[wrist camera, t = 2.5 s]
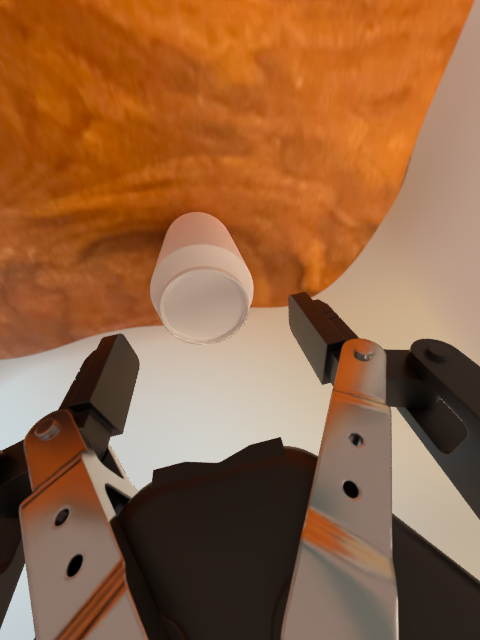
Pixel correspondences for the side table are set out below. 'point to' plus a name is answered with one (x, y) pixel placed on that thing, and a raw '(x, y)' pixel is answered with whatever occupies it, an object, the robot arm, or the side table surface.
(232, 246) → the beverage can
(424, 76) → the side table surface
